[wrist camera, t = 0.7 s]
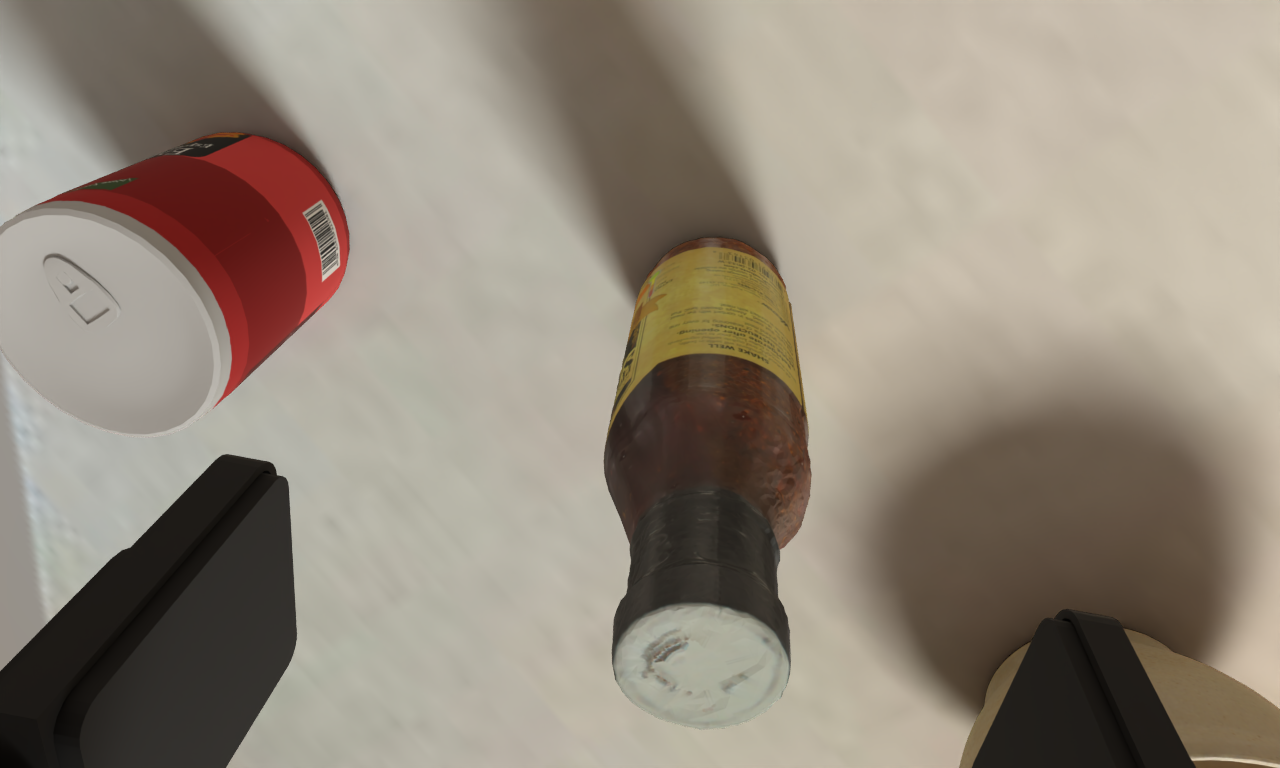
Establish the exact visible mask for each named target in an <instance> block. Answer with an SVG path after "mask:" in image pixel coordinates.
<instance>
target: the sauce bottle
mask: <svg viewBox="0 0 1280 768" xmlns="http://www.w3.org/2000/svg"><path fill="white" fill-rule="evenodd" d="M808 437H809V427H808V420H807V413H806V406H805V399H804V392H803V385H802V378H801V371H800V364H799V357H798V350H797V343H796V336H795V329H794V323H793V315H792V307H791V303H790V302H789V299H788V295H787V292H786V286H785V284H784V282H783V279H782V278H781V276H780V274H779V273H778V271H777V270H776V268H775V267H774V265H773V264H772V263H771V262H770V261H769V260H768V259H767V258H766V257H765V256H763V255H761V254H760V253H759V252H757V251H756V250H754V249H753V248H751V247H750V246H748V245H746V244H745V243H743V242H741V241H738V240H735V239H727V238H722V237H717V238H709V237H707V238H699V239H697V240H692V241H687V242H685V243H683V244H680V245H678V246H677V247H675V248H673V249H672V250H670V251H669V252H668V253H667V254H666V255H664V256H663V257H662V258H661V260H660V261H659V262H658V263H657V265H656V266H655V268H654V269H653V270H652V271H651V272H650V273H649V274H648V276H647V279H646V281H645V282H644V284H643V285H642V287H641V290H640V292H639V295H638V298H637V301H636V305H635V310H634V315H633V319H632V323H631V328H630V333H629V338H628V342H627V347H626V351H625V356H624V359H623V364H622V370H621V372H620V376H619V383H618V386H617V392H616V397H615V402H614V406H613V410H612V414H611V420H610V425H609V428H608V434H607V440H606V445H605V452H604V473H605V478H606V482H607V486H608V490H609V492H610V495H611V497H612V499H613V502H614V504H615V507H616V509H617V511H618V514H619V516H620V518H621V521H622V524H623V526H624V529H625V532H626V535H627V538H628V540H629V543H630V556H631V565H630V573H629V577H628V588H627V594H626V595H625V597H624V598H623V599H622V600H621V601H620V604H619V606H618V608H617V611H616V614H615V617H614V625H613V644H612V665H613V670H614V675H615V680H616V682H617V683H618V685H619V686H620V688H621V690H622V692H623V693H624V694H625V695H626V696H627V698H628V699H629V700H630V701H631V702H632V703H633V704H635V705H636V706H638V707H639V708H641V709H642V710H644V711H646V712H647V713H649V714H651V715H653V716H654V717H656V718H658V719H661V720H664V721H667V722H670V723H674V724H678V725H681V726H685V727H690V728H695V729H701V730H705V729H723V728H727V727H730V726H736V725H740V724H742V723H745V722H748V721H750V720H752V719H754V718H756V717H757V716H759V715H760V714H762V713H764V712H766V711H767V710H768V709H769V708H770V707H771V706H772V704H773V703H774V702H776V701H777V700H778V699H780V698H781V696H782V693H783V691H784V689H785V688H786V686H787V683H788V679H789V676H790V666H791V657H790V630H789V625H788V617H787V615H786V613H785V610H784V606H783V605H782V603H781V601H780V600H779V598H778V584H777V566H778V564H779V561H780V549H782V548H784V547H785V546H786V544H787V543H788V542H789V541H790V540H791V539H792V538H793V537H794V536H795V535H796V533H797V532H798V530H799V529H800V527H801V526H802V521H803V519H804V514H805V511H806V507H807V505H808V500H809V498H810V487H811V475H812V474H811V469H810V458H809V455H808V450H807V447H808Z"/></svg>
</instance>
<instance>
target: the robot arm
mask: <svg viewBox="0 0 1280 768" xmlns="http://www.w3.org/2000/svg"><path fill="white" fill-rule="evenodd" d="M296 640H297V628H296V610H295V592H294V574H293V556H292V538H291V519H290V501H289V486H288V481H287V479H286V478H285V477H283V476H278V475H277V473H276V469H275V467H274V465H273V464H272V463H270V462H267V461H261V460H256V459H251V458H245V457H240V456H234V455H229V454H226V455H222V456H220V457H219V458H218V459H216V460H215V461H214V462H213V463H212V464H211V465H210V466H209V467H208V468H207V470H206V471H205V472H204V473H203V474H202V475H201V476H200V477H199V478H198V479H197V480H196V481H195V482H194V483H193V484H192V485H191V486H190V487H189V488H188V489H187V490H186V491H185V492H184V493H183V494H182V495H181V496H180V497H179V498H178V499H177V500H176V501H175V502H174V503H173V504H172V505H171V506H170V508H169V509H168V510H167V511H166V512H165V513H164V514H163V515H162V516H161V517H160V518H159V519H158V520H157V521H156V522H155V523H154V524H153V525H152V526H151V527H150V528H149V529H148V530H147V531H146V532H145V533H144V534H143V535H142V536H141V537H140V538H139V539H138V540H137V541H136V542H135V543H134V545H133V546H132V547H131V548H128V549H125V550H122V551H121V552H119V553H118V554H117V555H116V556H114V557H113V558H112V559H111V560H110V561H109V562H108V563H107V564H106V565H105V566H104V567H103V568H102V569H101V570H100V571H99V572H98V573H97V574H96V575H95V576H94V577H93V578H92V579H91V580H90V581H89V582H88V583H87V584H86V585H85V586H84V587H83V588H82V589H81V590H80V591H79V592H78V593H77V594H76V595H75V596H74V597H73V598H72V599H71V600H70V601H69V602H68V603H67V604H66V605H65V606H64V607H63V608H62V609H61V610H60V611H59V612H58V613H57V614H56V615H55V616H54V617H53V618H52V619H51V620H50V621H49V622H48V623H47V624H46V625H45V626H44V628H43V629H42V630H41V631H40V632H39V633H38V634H37V635H36V636H35V637H34V638H33V639H32V640H31V641H30V642H29V643H28V644H27V645H26V646H25V647H24V648H23V649H22V650H21V651H20V652H19V653H18V654H17V655H16V656H15V657H14V658H13V659H12V660H11V661H10V662H9V663H8V664H7V665H6V666H5V667H4V668H3V669H2V670H1V671H0V768H226V767H227V765H228V763H229V762H230V760H231V758H232V757H233V755H234V753H235V752H236V750H237V749H238V747H239V745H240V744H241V742H242V740H243V739H244V737H245V736H246V734H247V732H248V731H249V729H250V727H251V726H252V724H253V722H254V721H255V719H256V718H257V716H258V714H259V713H260V711H261V709H262V708H263V706H264V705H265V703H266V701H267V700H268V698H269V696H270V695H271V693H272V691H273V690H274V688H275V687H276V685H277V683H278V682H279V680H280V678H281V677H282V675H283V674H284V672H285V670H286V669H287V667H288V665H289V663H290V661H291V659H292V656H293V653H294V650H295V646H296ZM972 768H1196V766H1195V764H1194V763H1193V761H1192V760H1191V758H1190V756H1189V754H1188V753H1187V751H1186V749H1185V747H1184V745H1183V743H1182V741H1181V739H1180V737H1179V735H1178V733H1177V731H1176V729H1175V727H1174V725H1173V723H1172V722H1171V720H1170V718H1169V716H1168V714H1167V712H1166V710H1165V708H1164V706H1163V704H1162V702H1161V700H1160V698H1159V696H1158V694H1157V693H1156V691H1155V689H1154V687H1153V685H1152V683H1151V681H1150V679H1149V677H1148V675H1147V673H1146V671H1145V669H1144V667H1143V665H1142V664H1141V662H1140V660H1139V658H1138V656H1137V654H1136V652H1135V650H1134V648H1133V646H1132V644H1131V642H1130V640H1129V638H1128V636H1127V634H1126V633H1125V631H1124V629H1123V627H1122V625H1121V624H1120V623H1119V621H1118V620H1116V619H1114V618H1113V617H1107V616H1102V615H1097V614H1091V613H1086V612H1080V611H1075V610H1069V609H1066V610H1062V611H1061V612H1059V613H1058V614H1057V616H1056V617H1055V619H1051V618H1045V619H1044V620H1043V621H1042V622H1041V623H1040V625H1039V627H1038V629H1037V631H1036V633H1035V635H1034V637H1033V639H1032V641H1031V643H1030V645H1029V648H1028V650H1027V652H1026V654H1025V656H1024V658H1023V660H1022V662H1021V664H1020V666H1019V668H1018V671H1017V673H1016V675H1015V677H1014V679H1013V681H1012V683H1011V685H1010V687H1009V689H1008V691H1007V694H1006V696H1005V698H1004V700H1003V702H1002V704H1001V706H1000V708H999V710H998V712H997V714H996V717H995V719H994V721H993V723H992V725H991V727H990V729H989V731H988V733H987V735H986V737H985V740H984V742H983V744H982V746H981V748H980V750H979V752H978V754H977V756H976V758H975V760H974V763H973V766H972Z"/></svg>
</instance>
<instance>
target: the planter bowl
mask: <svg viewBox="0 0 1280 768" xmlns="http://www.w3.org/2000/svg"><path fill="white" fill-rule="evenodd" d="M1123 629H1124V628H1123ZM1124 631H1125V633H1126V634H1127V636H1128V638H1129V640H1130V642H1131V644H1132V646H1133V648H1134V650H1135V652H1136V654H1137V656H1138V658H1139V660H1140V662H1141V664H1142V665H1143V667H1144V669H1145V671H1146V673H1147V675H1148V677H1149V679H1150V681H1151V683H1152V685H1153V687H1154V689H1155V691H1156V693H1157V694H1158V696H1159V698H1160V700H1161V702H1162V704H1163V706H1164V708H1165V710H1166V712H1167V714H1168V716H1169V718H1170V720H1171V722H1172V723H1173V725H1174V727H1175V729H1176V731H1177V733H1178V735H1179V737H1180V739H1181V741H1182V743H1183V745H1184V747H1185V749H1186V751H1187V753H1188V754H1189V756H1190V758H1191V760H1192V761H1193V763H1194V764H1195V766H1196V768H1280V709H1279V708H1278V707H1276V706H1275V705H1274V704H1272V703H1271V702H1269V701H1268V700H1267V699H1265V698H1264V697H1262V696H1261V695H1260V694H1258V693H1257V692H1255V691H1254V690H1252V689H1250V688H1249V687H1247V686H1246V685H1244V684H1242V683H1240V682H1238V681H1237V680H1235V679H1233V678H1231V677H1229V676H1228V675H1226V674H1224V673H1222V672H1220V671H1218V670H1216V669H1214V668H1212V667H1210V666H1207V665H1205V664H1203V663H1201V662H1198V661H1196V660H1194V659H1191V658H1188V657H1186V656H1183V655H1180V654H1177V653H1174V652H1172V651H1171V650H1170V649H1169V648H1168V647H1166V646H1165V645H1163V644H1162V643H1160V642H1159V641H1157V640H1155V639H1153V638H1151V637H1149V636H1147V635H1145V634H1142V633H1139V632H1136V631H1133V630H1129V629H1124ZM1030 643H1031V642H1029V643H1028V644H1026V645H1024V646H1023V647H1021V648H1020V649H1018V650H1017V651H1015V652H1014V653H1013V654H1012V655H1011V656H1010V657H1008V658H1007V659H1006V660H1005V661H1004V662H1003V664H1002V665H1001V666H1000V667H999V668H998V670H997V671H996V672H995V674H994V676H993V677H992V679H991V681H990V683H989V686H988V688H987V692H986V696H985V706H984V707H983V709H982V711H981V712H980V714H979V715H978V717H977V719H976V721H975V723H974V726H973V728H972V730H971V732H970V735H969V737H968V740H967V742H966V745H965V748H964V752H963V755H962V759H961V763H960V767H959V768H972V766H973V763H974V760H975V758H976V756H977V754H978V752H979V750H980V748H981V746H982V744H983V742H984V740H985V737H986V735H987V733H988V731H989V729H990V727H991V725H992V723H993V721H994V719H995V717H996V714H997V712H998V710H999V708H1000V706H1001V704H1002V702H1003V700H1004V698H1005V696H1006V694H1007V691H1008V689H1009V687H1010V685H1011V683H1012V681H1013V679H1014V677H1015V675H1016V673H1017V671H1018V668H1019V666H1020V664H1021V662H1022V660H1023V658H1024V656H1025V654H1026V652H1027V650H1028V648H1029V645H1030Z"/></svg>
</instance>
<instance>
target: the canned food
mask: <svg viewBox="0 0 1280 768" xmlns="http://www.w3.org/2000/svg"><path fill="white" fill-rule="evenodd" d="M349 250H350V248H349V230H348V226H347V221H346V217H345V214H344V212H343V209H342V207H341V204H340V202H339V199H338V198H337V196H336V194H335V193H334V191H333V189H332V188H331V186H330V185H329V183H328V182H327V181H326V179H325V178H324V177H323V176H322V175H321V174H320V172H319V171H318V170H317V169H316V168H315V167H314V166H313V165H312V164H311V163H309V162H308V161H307V160H306V159H305V158H304V157H302V156H301V155H300V154H298V153H297V152H295V151H293V150H292V149H290V148H289V147H287V146H285V145H283V144H281V143H278V142H276V141H273V140H271V139H269V138H265V137H260V136H256V135H251V134H245V133H216V134H212V135H208V136H203V137H201V138H198V139H196V140H193V141H191V142H188V143H186V144H184V145H181V146H179V147H176V148H174V149H171V150H169V151H166V152H164V153H161V154H159V155H156V156H154V157H151V158H149V159H146V160H144V161H141V162H139V163H136V164H134V165H131V166H129V167H126V168H124V169H121V170H119V171H117V172H114V173H112V174H109V175H107V176H104V177H102V178H99V179H97V180H94V181H92V182H89V183H87V184H84V185H82V186H79V187H77V188H74V189H72V190H69V191H67V192H64V193H62V194H59V195H57V196H55V197H54V198H52V199H49V200H47V201H45V202H42V203H40V204H37V205H35V206H33V207H31V208H29V209H27V210H25V211H24V212H22V213H20V214H18V215H16V216H15V217H14V218H13V219H11V220H9V221H7V222H5V223H4V224H3V225H2V226H1V227H0V349H1V351H2V353H3V354H4V356H5V357H6V359H7V360H8V362H9V363H10V364H11V365H12V366H13V368H14V369H15V370H16V371H17V372H18V374H19V375H20V376H21V377H22V378H23V380H24V381H25V382H27V383H28V384H29V385H30V386H31V387H32V388H33V389H34V390H35V391H36V392H37V393H38V394H40V395H41V396H42V397H43V398H44V399H46V400H47V401H48V402H50V403H51V404H53V405H54V406H55V407H57V408H58V409H60V410H61V411H62V412H64V413H66V414H68V415H70V416H72V417H73V418H75V419H77V420H79V421H81V422H83V423H85V424H87V425H90V426H92V427H95V428H98V429H100V430H103V431H106V432H109V433H114V434H119V435H124V436H129V437H157V436H163V435H169V434H172V433H174V432H177V431H179V430H182V429H184V428H187V427H188V426H190V425H191V424H192V423H194V422H195V421H197V420H199V419H200V418H201V417H203V416H204V415H205V414H207V413H208V412H209V411H211V410H212V409H213V408H214V407H215V406H216V405H217V404H218V403H220V402H221V401H222V400H223V399H224V398H225V397H226V396H228V395H229V394H230V393H231V392H232V391H233V390H234V389H235V388H237V387H238V386H239V385H240V384H241V383H242V382H243V381H244V380H245V379H246V378H247V377H248V376H249V375H250V374H251V373H252V372H253V371H254V370H256V369H257V368H258V367H259V366H260V365H261V364H262V363H263V362H264V361H265V360H266V359H267V358H268V357H269V356H270V355H271V354H272V353H273V352H275V351H276V350H277V349H278V348H279V347H280V346H281V345H282V344H283V343H284V342H285V341H286V340H287V339H288V338H289V337H290V336H291V335H293V334H294V333H295V332H296V331H297V330H298V329H299V328H300V327H301V326H302V325H303V324H304V323H305V322H306V321H307V320H308V319H309V318H310V317H312V316H313V315H314V314H315V313H316V312H317V311H318V310H319V309H320V308H321V307H322V306H323V305H324V304H325V303H326V302H327V301H328V300H329V299H330V298H331V297H332V295H333V294H334V293H335V292H336V290H337V289H338V287H339V285H340V283H341V281H342V278H343V276H344V274H345V270H346V266H347V260H348V255H349Z"/></svg>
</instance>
